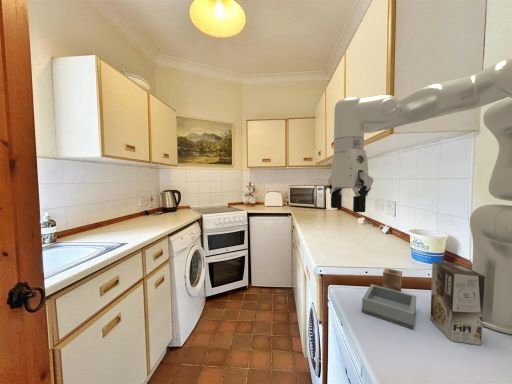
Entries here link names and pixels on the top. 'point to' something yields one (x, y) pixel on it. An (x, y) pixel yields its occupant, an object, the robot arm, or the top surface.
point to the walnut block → (392, 279)
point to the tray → (390, 305)
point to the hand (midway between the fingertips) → (346, 209)
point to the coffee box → (457, 302)
